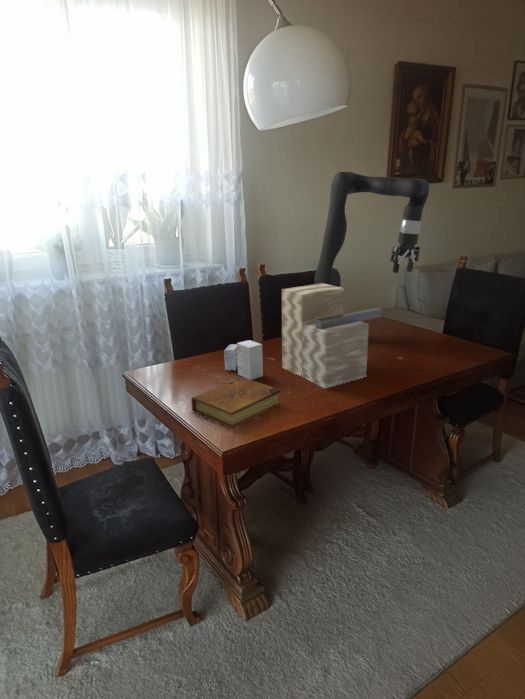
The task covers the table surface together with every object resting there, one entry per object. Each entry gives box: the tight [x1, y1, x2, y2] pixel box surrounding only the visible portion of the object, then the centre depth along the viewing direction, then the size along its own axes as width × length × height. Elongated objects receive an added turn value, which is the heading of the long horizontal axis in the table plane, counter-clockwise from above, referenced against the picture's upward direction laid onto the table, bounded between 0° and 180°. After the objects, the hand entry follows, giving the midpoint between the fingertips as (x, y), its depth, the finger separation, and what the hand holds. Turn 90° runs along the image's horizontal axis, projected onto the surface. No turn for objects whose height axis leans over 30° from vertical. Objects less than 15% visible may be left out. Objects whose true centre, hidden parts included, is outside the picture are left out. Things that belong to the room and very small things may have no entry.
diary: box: [191, 376, 282, 429], centre depth 167 cm, size 23×19×6 cm
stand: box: [281, 283, 370, 389], centre depth 192 cm, size 27×20×32 cm
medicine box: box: [223, 343, 238, 372], centre depth 203 cm, size 8×4×9 cm, turn 168°
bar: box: [316, 307, 383, 329], centre depth 187 cm, size 3×30×3 cm, turn 123°
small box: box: [236, 339, 264, 381], centre depth 193 cm, size 8×6×13 cm
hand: (402, 272), depth 205 cm, fingers open, 8 cm apart
